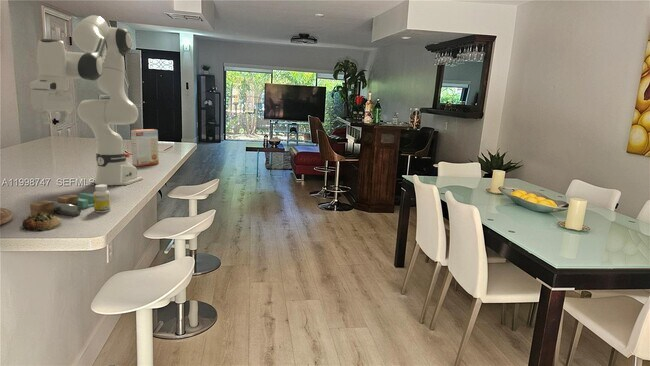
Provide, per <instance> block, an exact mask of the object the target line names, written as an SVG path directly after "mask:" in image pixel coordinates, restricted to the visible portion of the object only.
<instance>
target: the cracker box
mask: <svg viewBox="0 0 650 366" xmlns="http://www.w3.org/2000/svg"><path fill="white" fill-rule="evenodd" d="M130 139H131V160H132V161H131V164H132V165H133V166H135V167H143V166H144V167H145V166H151V165H152V166H153V165H159V163H160V162H159V158H160V157H159V132H158V129H155V128H151V129H150V128H149V129H148V128H147V129H131V130H130Z"/></svg>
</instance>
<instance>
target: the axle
mask: <svg viewBox="0 0 650 366" xmlns="http://www.w3.org/2000/svg"><path fill="white" fill-rule="evenodd" d="M50 201H51V200H50ZM51 202H53V206H54V214H55V213H57V214H60V215H66V216H71V217H78V216H80V215H81V212H82V209H81V208H80V207H79V206H75V205H70V204H64V203H59V202H57V201H53V200H52V201H51Z"/></svg>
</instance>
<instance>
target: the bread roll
mask: <svg viewBox="0 0 650 366" xmlns="http://www.w3.org/2000/svg"><path fill="white" fill-rule="evenodd" d="M61 224H62V219H60V217H58V216H55V215H54V214H52V215H48V214H47V213H45V214H42V213H38V214H37V215H34V216H32V215H31V214H30V215H29V216H28V217H26V218H25V219H24V220H23V222H22V224H21V225H22V227H23V230H26V231H38V230H40V231H48V230H53V229H56V228H58V227H60V226H61Z"/></svg>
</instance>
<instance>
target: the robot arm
mask: <svg viewBox="0 0 650 366" xmlns="http://www.w3.org/2000/svg"><path fill="white" fill-rule="evenodd" d="M108 25H109V24H108V22H107V21H106V20H105V19H104V18H103V17H101V16H100V15H95V14H92V15H88V16H86V17H85V18H83V19H81V21H80V22H78V23H77V25H76V26H74V27H73V28H74V29H73V31H72V35H71V37H72V40H73V42H74V44H75V45H76V46H77V47H78V48H79V49H80V50H81V51H83V52H76V51H75V52H74V51H67V50H66V46H65V42H64V41H63V40H62V39H58V38H57V39H56V38H41V39H39V40H38V42H37V43H38V44H37V51H36V56H37V57H36V58H37V59H36V60H37V65H38V73H37V79H35V80H32V81H30V82H29V88H30V89H31V90H30V91H31V92H30V103H31V108H32V110H33V111H34V112H40V115H41V118H42V120H43V124H44V125H51V124H52V119H50V117H49V115H50V112H59V114H60V117H59V118H58V123H59V124H63V125H64V124H67V120H66V119H67V118H68V112H73V111H74V109H75V106H74V105H75V104H74V98H73V94H72V92H71V90H70V88H69V85H68V79H77V80H78V79H79V80H88V81H94V82H95V81H96V80H97V88H98V89H99V90H100V91H102V92H103V93H105V94H106V95H108V96H109V99H108V100H107V99H95V98H94V99H84V100H81V102H80V103H79V104H78V106H77V115H78V116H79V118H80V120H82V122H84V123H85V124H87V125H88V127H90V129H91V130H92V132H93V134H94V136H95V137H94V138H95V142H96V154H95V160H96V172H95V174H96V175H95V178H94V184H96V185H100V184H104V185H107V186H119V185H120V186H121V185H122V186H124V185H125V186H126V185H127V186H128V185H130V184H133V183H136V182H139V181H142V180H144V178H143V176H140V175H139V174H138V169H137V166H135V165H132V163H130V162H129V161H128V160H127V158H130V157H131V153H126V152H125V153H124V143H123V142H124V140H123V139H124V138H123V137H122V136H121V134H120V133H118V132H115V131H114V130H112V129H111V127H110V125H132V124H135V123H136V122H137V120H138V119H139V115H140V113H139V109H138V107H137V106H136V104H135V103H134V102H132V101H131V100H130V99H129V98H128V96H127V94H126V91H125V75H126V74H125V73H126V70H125V69H126V67H125V66H126V65H125V57H124V56H126V55H127V53H129V51H130V50H131V48H132V45H133V39H132V35H131V33H130V32H129V30H128V29H126V28H124V27H123V28H122V27H114V26H108Z"/></svg>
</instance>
